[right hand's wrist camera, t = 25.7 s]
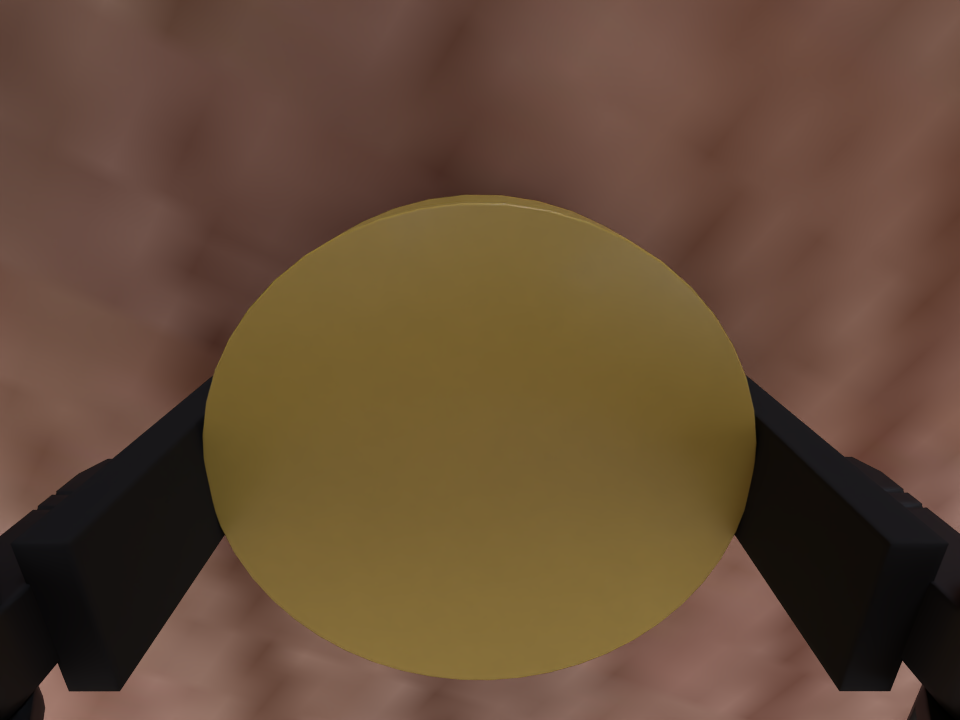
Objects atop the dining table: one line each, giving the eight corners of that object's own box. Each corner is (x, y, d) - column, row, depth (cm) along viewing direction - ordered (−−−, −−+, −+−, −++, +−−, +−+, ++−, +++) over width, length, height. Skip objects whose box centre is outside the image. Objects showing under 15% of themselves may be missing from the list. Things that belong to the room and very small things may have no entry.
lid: (773, 218, 10) (834, 231, 9) (661, 626, 14) (687, 693, 12) (221, 171, 10) (166, 174, 8) (260, 601, 14) (228, 666, 12)
